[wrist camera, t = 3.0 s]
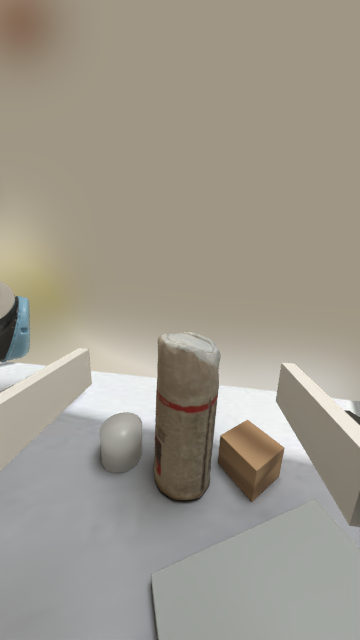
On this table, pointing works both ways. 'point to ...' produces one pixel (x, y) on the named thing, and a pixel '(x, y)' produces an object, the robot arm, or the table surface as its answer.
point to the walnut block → (250, 458)
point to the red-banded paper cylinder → (185, 413)
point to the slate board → (265, 584)
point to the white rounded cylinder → (121, 442)
